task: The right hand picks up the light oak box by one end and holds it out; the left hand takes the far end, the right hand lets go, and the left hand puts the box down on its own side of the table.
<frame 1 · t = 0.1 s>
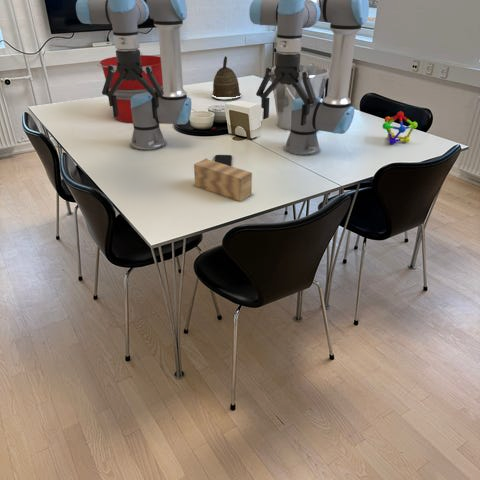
left hand: (135, 116, 150), 28 cm above the table, tool pointing down, fingers open, 13 cm apart
right hand: (284, 121, 146), 28 cm above the table, tool pointing down, fingers open, 13 cm apart
bucket 2: (138, 116, 246), on the table
educational toy: (395, 143, 211), on the table
smartphone: (222, 163, 188), on the table
bell: (226, 97, 281), on the table
box: (222, 190, 166), on the table
bucket: (295, 125, 233), on the table
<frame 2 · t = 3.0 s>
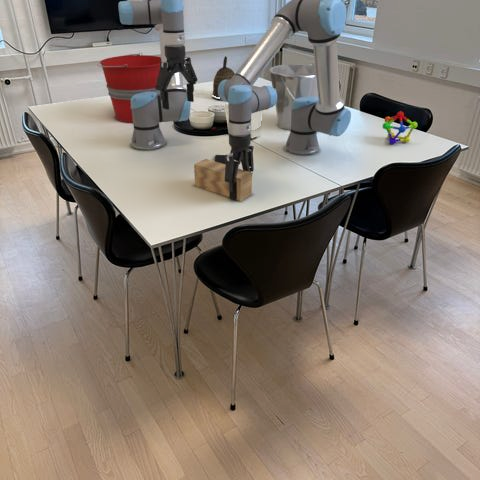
left hand: (178, 105, 170), 26 cm above the table, tool pointing down, fingers open, 13 cm apart
right hand: (239, 194, 162), 0 cm above the table, tool pointing down, fingers closed on box, 7 cm apart
box: (222, 190, 166), on the table, touching right hand
everything else where it was.
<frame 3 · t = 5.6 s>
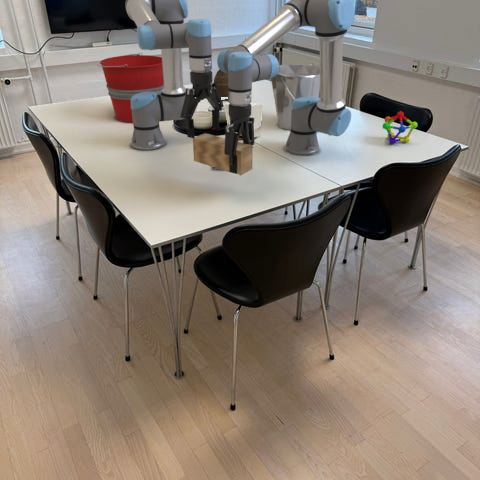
left hand: (203, 132, 160), 20 cm above the table, tool pointing down, fingers open, 13 cm apart
right hand: (239, 169, 157), 10 cm above the table, tool pointing down, fingers closed on box, 7 cm apart
box: (222, 165, 161), point 10 cm above the table, touching right hand
everything else where it was.
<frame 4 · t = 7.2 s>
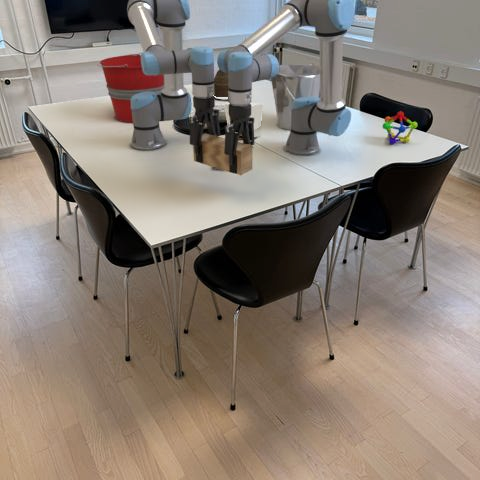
left hand: (206, 158, 164), 11 cm above the table, tool pointing down, fingers closed on box, 7 cm apart
right hand: (239, 169, 156), 10 cm above the table, tool pointing down, fingers closed on box, 7 cm apart
box: (222, 165, 161), point 10 cm above the table, touching left hand, right hand
everything else where it was.
when the right hand's fingers open (10 cm above the table, at t = 8.2 s): box stays where it is, held by the left hand.
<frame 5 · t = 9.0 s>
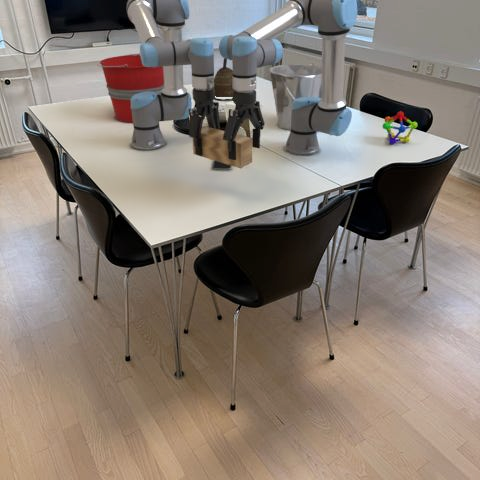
left hand: (205, 152, 163), 13 cm above the table, tool pointing down, fingers closed on box, 7 cm apart
right hand: (244, 153, 152), 17 cm above the table, tool pointing down, fingers open, 13 cm apart
box: (222, 158, 159), point 13 cm above the table, touching left hand
everything else where it was.
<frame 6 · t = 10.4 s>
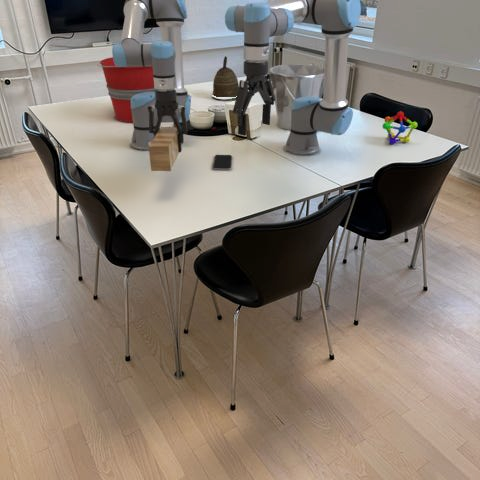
left hand: (170, 150, 169), 11 cm above the table, tool pointing down, fingers closed on box, 7 cm apart
right hand: (254, 129, 145), 26 cm above the table, tool pointing down, fingers open, 13 cm apart
box: (166, 159, 162), point 11 cm above the table, touching left hand
everything else where it was.
when the left hand's fingers open (2 cm above the table, at t = 11.7 s): box drops 1 cm, on the table.
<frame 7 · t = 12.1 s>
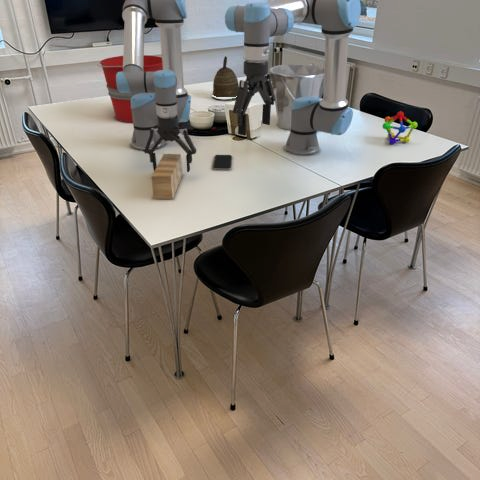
left hand: (171, 170, 173), 3 cm above the table, tool pointing down, fingers open, 12 cm apart
right hand: (254, 129, 145), 26 cm above the table, tool pointing down, fingers open, 13 cm apart
box: (168, 186, 169), on the table
everything else where it was.
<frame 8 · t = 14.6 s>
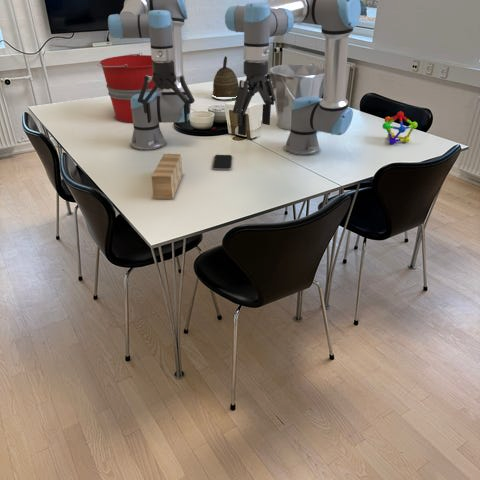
left hand: (167, 122, 163), 22 cm above the table, tool pointing down, fingers open, 13 cm apart
right hand: (254, 129, 145), 26 cm above the table, tool pointing down, fingers open, 13 cm apart
nothing on the table moved.
at the end: box inside the target area (7.8 cm from its centre), on the table; the left hand is holding nothing; the right hand is holding nothing; box at rest at the end (0.0 cm/s) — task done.
